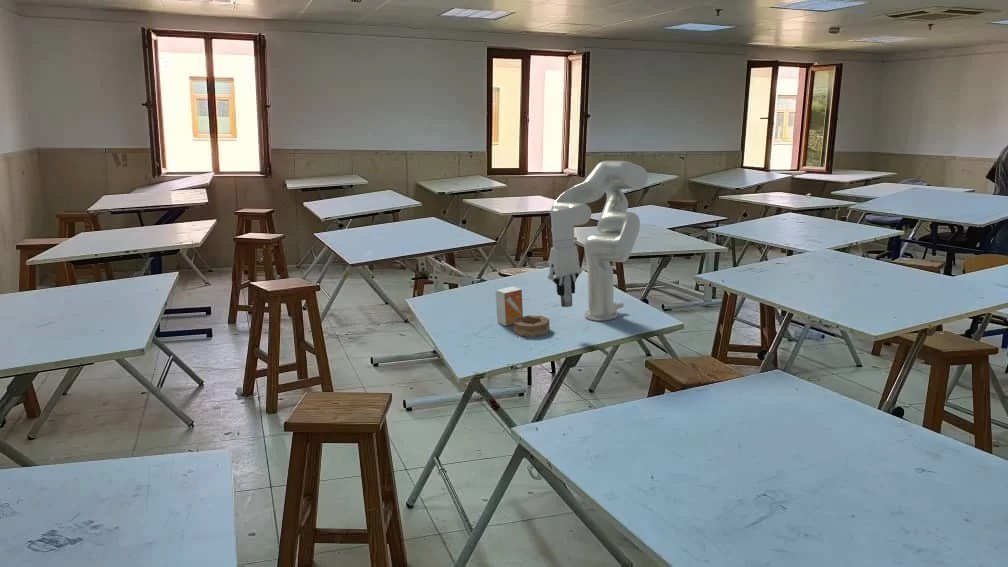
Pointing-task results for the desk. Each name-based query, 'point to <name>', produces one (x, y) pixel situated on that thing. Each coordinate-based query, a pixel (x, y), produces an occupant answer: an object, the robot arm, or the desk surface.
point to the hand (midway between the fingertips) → (566, 293)
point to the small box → (508, 305)
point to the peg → (567, 292)
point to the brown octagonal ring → (531, 326)
